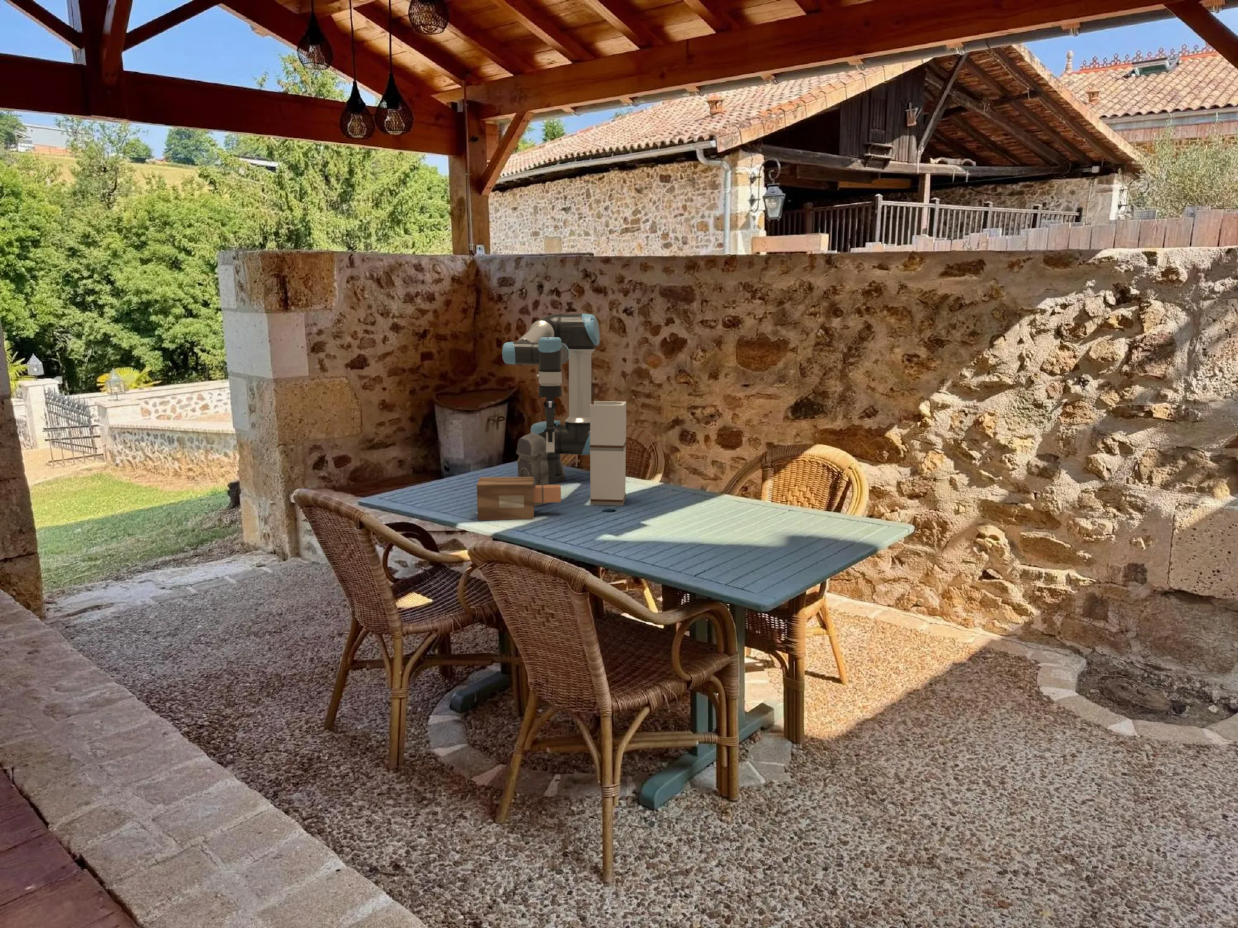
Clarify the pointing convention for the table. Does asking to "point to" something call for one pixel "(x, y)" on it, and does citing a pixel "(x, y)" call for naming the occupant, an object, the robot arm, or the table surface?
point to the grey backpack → (533, 459)
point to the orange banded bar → (547, 493)
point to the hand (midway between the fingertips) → (550, 449)
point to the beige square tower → (607, 453)
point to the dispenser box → (505, 498)
